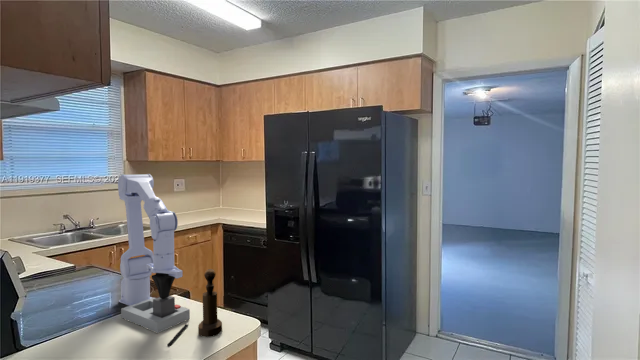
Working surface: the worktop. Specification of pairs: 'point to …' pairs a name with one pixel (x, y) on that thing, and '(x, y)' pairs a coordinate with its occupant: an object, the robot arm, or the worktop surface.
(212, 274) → the dark brown pepper mill
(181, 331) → the thin black rod
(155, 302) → the plug
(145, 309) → the socket plate
